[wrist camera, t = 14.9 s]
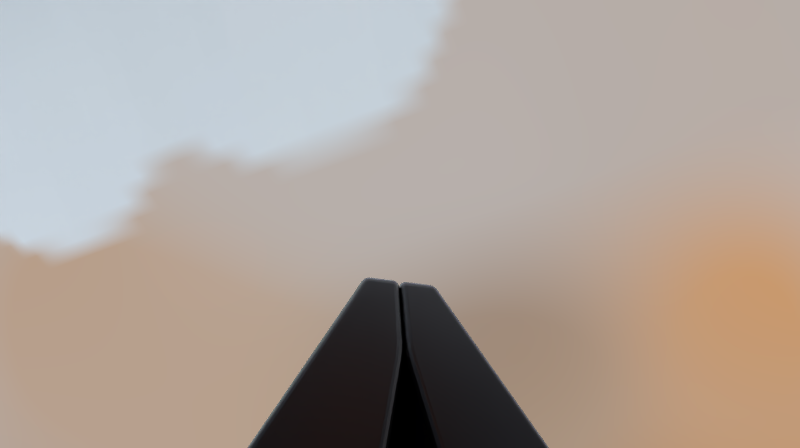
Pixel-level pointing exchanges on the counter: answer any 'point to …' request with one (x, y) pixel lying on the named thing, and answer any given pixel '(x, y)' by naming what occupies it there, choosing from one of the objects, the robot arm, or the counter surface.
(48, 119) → the counter surface
